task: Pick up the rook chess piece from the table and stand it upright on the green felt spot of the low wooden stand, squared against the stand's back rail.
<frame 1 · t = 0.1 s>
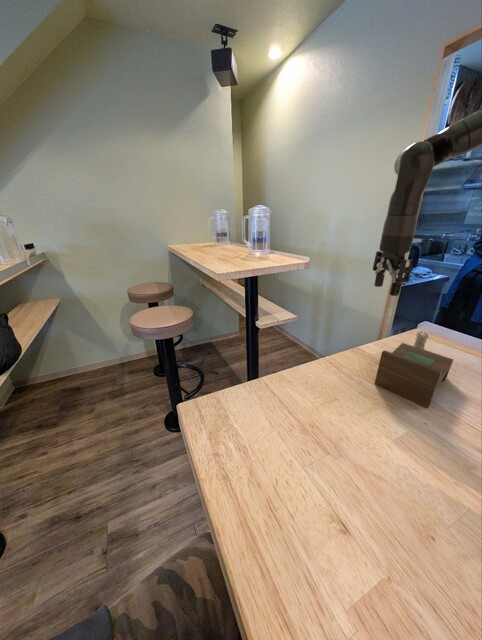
hand: (385, 290, 74), 19 cm above the table, tool pointing down, fingers open, 8 cm apart
wooden stand: (410, 381, 67), on the table
rook chess piece: (415, 356, 77), on the table
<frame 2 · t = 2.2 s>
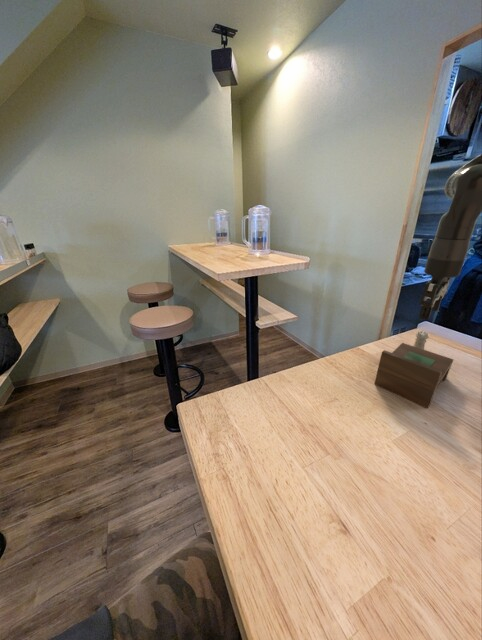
hand: (428, 314, 71), 14 cm above the table, tool pointing down, fingers open, 8 cm apart
nothing on the table moved.
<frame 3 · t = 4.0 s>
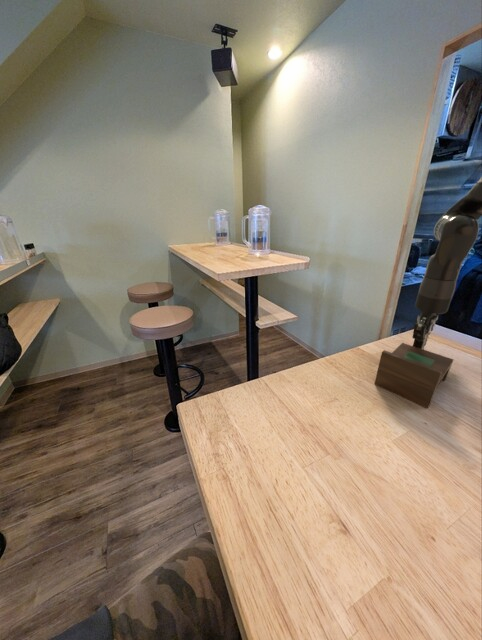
hand: (418, 347, 76), 3 cm above the table, tool pointing down, fingers closed on rook chess piece, 3 cm apart
rook chess piece: (415, 356, 77), on the table, touching gripper
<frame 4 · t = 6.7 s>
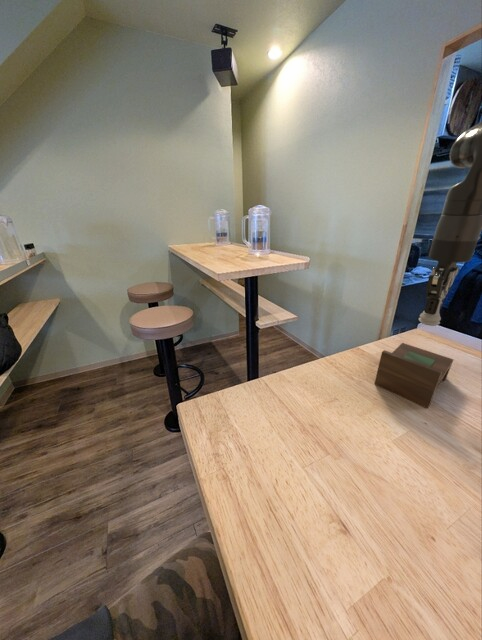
hand: (432, 310, 61), 19 cm above the table, tool pointing down, fingers closed on rook chess piece, 3 cm apart
rook chess piece: (428, 323, 62), point 16 cm above the table, touching gripper
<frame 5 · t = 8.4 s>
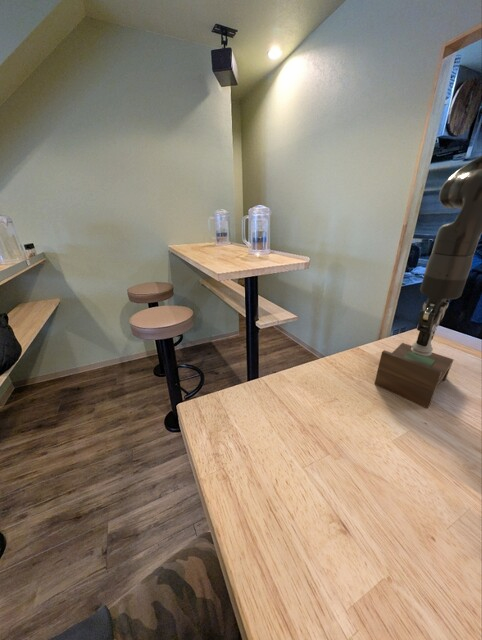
hand: (424, 341, 62), 12 cm above the table, tool pointing down, fingers closed on rook chess piece, 3 cm apart
rook chess piece: (420, 353, 64), point 8 cm above the table, touching gripper
when the fingers open (9 cm above the table, at t = 9.4 s): rook chess piece stays where it is, resting on wooden stand.
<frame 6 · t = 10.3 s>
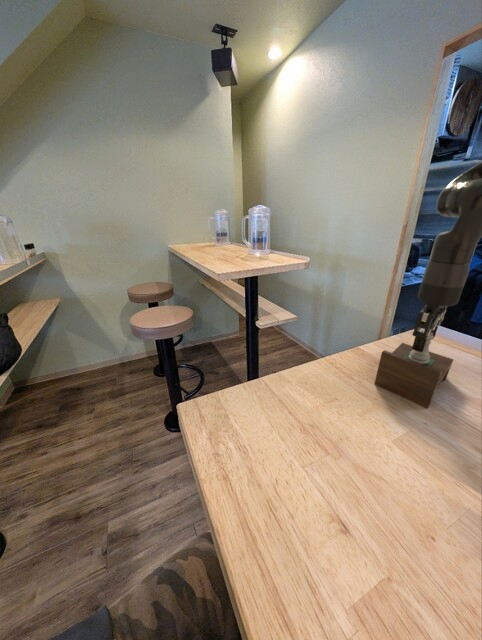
hand: (423, 344, 63), 11 cm above the table, tool pointing down, fingers open, 8 cm apart
rook chess piece: (418, 360, 65), point 6 cm above the table, touching wooden stand
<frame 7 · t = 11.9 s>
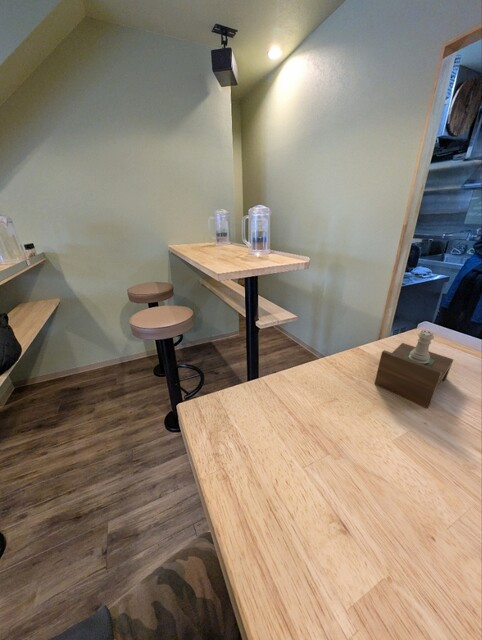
nothing on the table moved.
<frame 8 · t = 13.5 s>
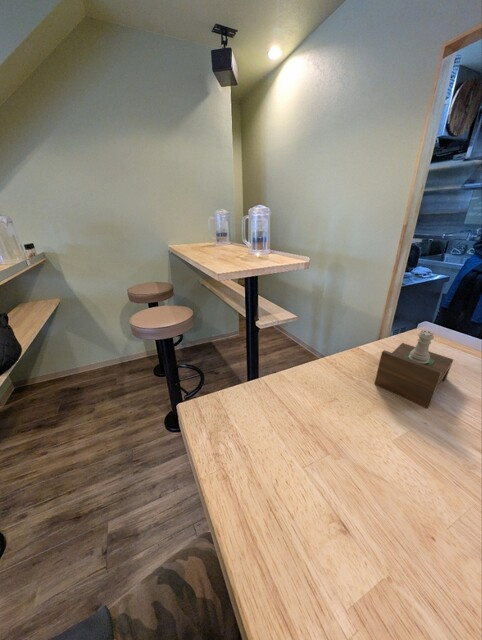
nothing on the table moved.
at the end: rook chess piece 0.1 cm from the target spot, point 6.0 cm above the table; rook chess piece tilted 0°; rook chess piece touching wooden stand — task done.
